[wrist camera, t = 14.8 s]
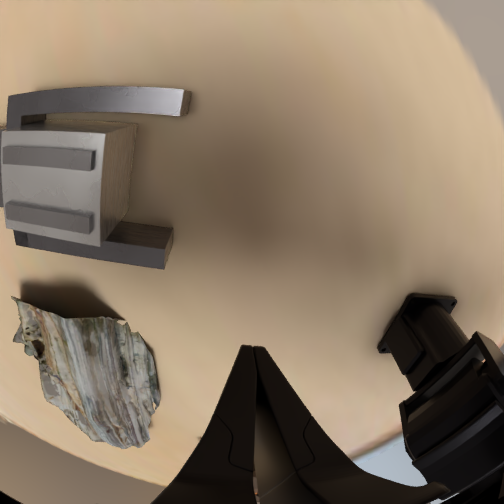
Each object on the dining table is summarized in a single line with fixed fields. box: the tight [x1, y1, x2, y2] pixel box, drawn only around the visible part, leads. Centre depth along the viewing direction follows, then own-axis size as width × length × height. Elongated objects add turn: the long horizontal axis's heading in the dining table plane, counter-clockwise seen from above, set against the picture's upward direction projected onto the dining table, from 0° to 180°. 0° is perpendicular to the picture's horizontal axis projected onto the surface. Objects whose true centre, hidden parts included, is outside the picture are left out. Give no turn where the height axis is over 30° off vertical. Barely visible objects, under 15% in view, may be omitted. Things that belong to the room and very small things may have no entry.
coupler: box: [0, 86, 191, 269], centre depth 12 cm, size 18×9×2 cm, turn 79°
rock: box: [11, 296, 160, 449], centre depth 20 cm, size 23×7×15 cm
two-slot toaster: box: [1, 119, 138, 247], centre depth 12 cm, size 6×5×5 cm
